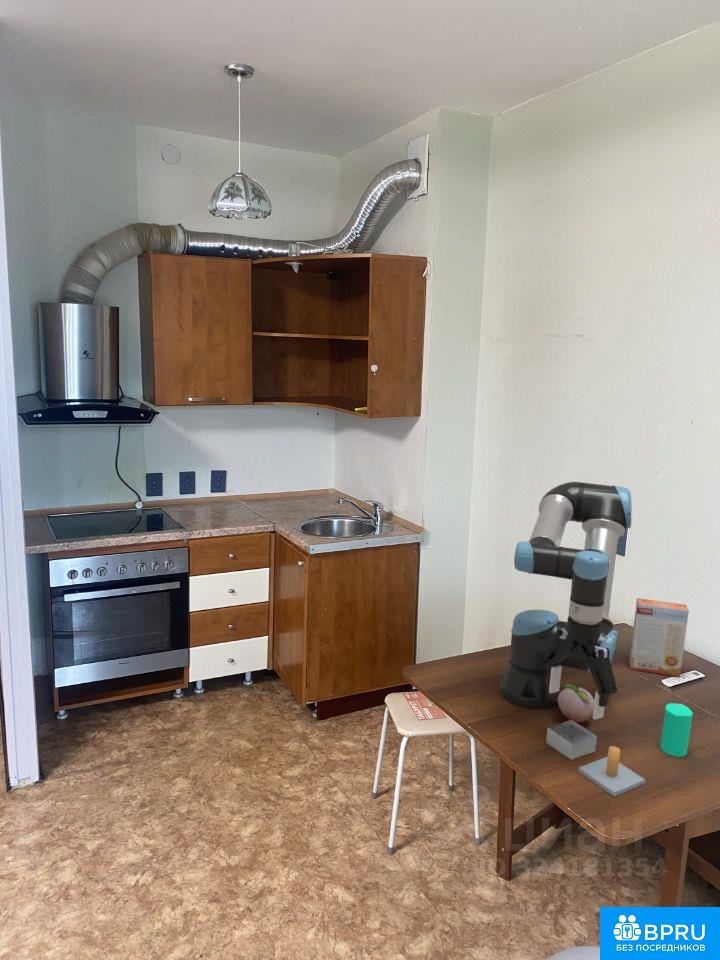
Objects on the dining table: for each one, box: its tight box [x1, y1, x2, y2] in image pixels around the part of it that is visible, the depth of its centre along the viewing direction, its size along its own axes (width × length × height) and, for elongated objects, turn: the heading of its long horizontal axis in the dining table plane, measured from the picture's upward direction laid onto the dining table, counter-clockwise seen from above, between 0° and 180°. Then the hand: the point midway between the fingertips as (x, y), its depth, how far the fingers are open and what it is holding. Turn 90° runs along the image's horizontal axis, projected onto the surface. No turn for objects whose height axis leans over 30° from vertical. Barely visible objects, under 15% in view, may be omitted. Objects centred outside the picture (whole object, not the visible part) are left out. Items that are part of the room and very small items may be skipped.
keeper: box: [577, 745, 646, 797], centre depth 158 cm, size 10×10×7 cm
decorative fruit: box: [556, 684, 595, 723], centre depth 181 cm, size 9×8×10 cm
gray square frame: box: [545, 719, 598, 761], centre depth 170 cm, size 8×8×4 cm
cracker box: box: [629, 598, 690, 677], centre depth 212 cm, size 14×6×21 cm, turn 72°
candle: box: [660, 702, 694, 758], centre depth 170 cm, size 6×6×12 cm
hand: (575, 704), depth 167 cm, fingers open, 13 cm apart
